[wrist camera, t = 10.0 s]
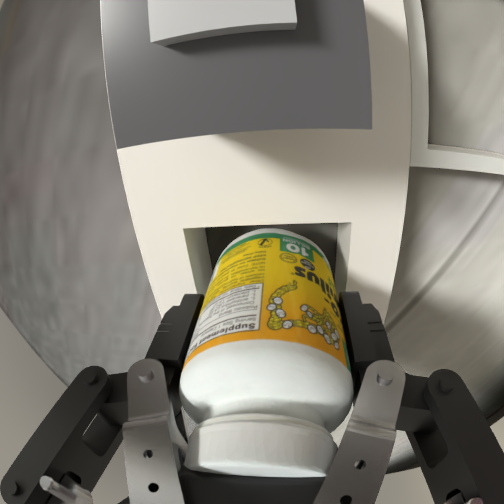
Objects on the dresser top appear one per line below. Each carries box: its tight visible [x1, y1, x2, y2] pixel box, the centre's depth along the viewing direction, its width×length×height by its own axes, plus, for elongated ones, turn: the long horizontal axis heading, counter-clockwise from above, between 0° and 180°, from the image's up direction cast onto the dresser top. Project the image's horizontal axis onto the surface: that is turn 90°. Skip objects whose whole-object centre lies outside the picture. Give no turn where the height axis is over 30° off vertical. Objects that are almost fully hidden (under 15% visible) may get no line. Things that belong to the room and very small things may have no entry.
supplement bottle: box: [179, 228, 354, 477], centre depth 10 cm, size 5×5×10 cm
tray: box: [403, 0, 504, 175], centre depth 8 cm, size 12×12×2 cm
